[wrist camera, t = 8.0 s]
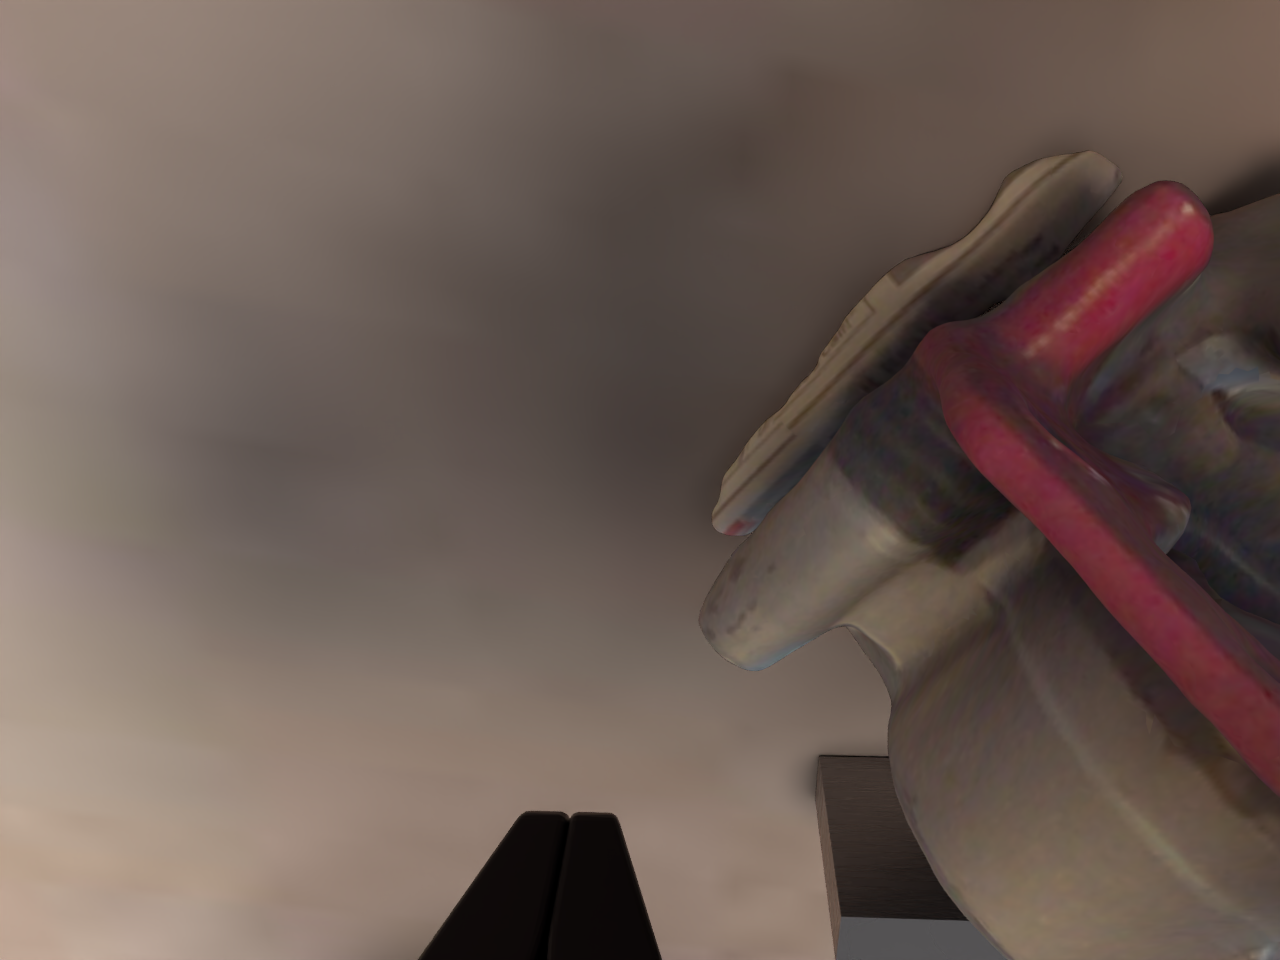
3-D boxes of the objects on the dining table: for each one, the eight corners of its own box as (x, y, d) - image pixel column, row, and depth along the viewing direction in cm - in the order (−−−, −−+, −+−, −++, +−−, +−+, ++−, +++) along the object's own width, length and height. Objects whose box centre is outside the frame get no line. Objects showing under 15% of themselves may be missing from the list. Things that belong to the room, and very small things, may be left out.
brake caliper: (1978, 440, 12) (2269, 1794, 7) (1160, 572, 21) (1029, 1176, 16) (1441, -250, 9) (1247, 1253, 4) (768, 260, 18) (458, 882, 13)
